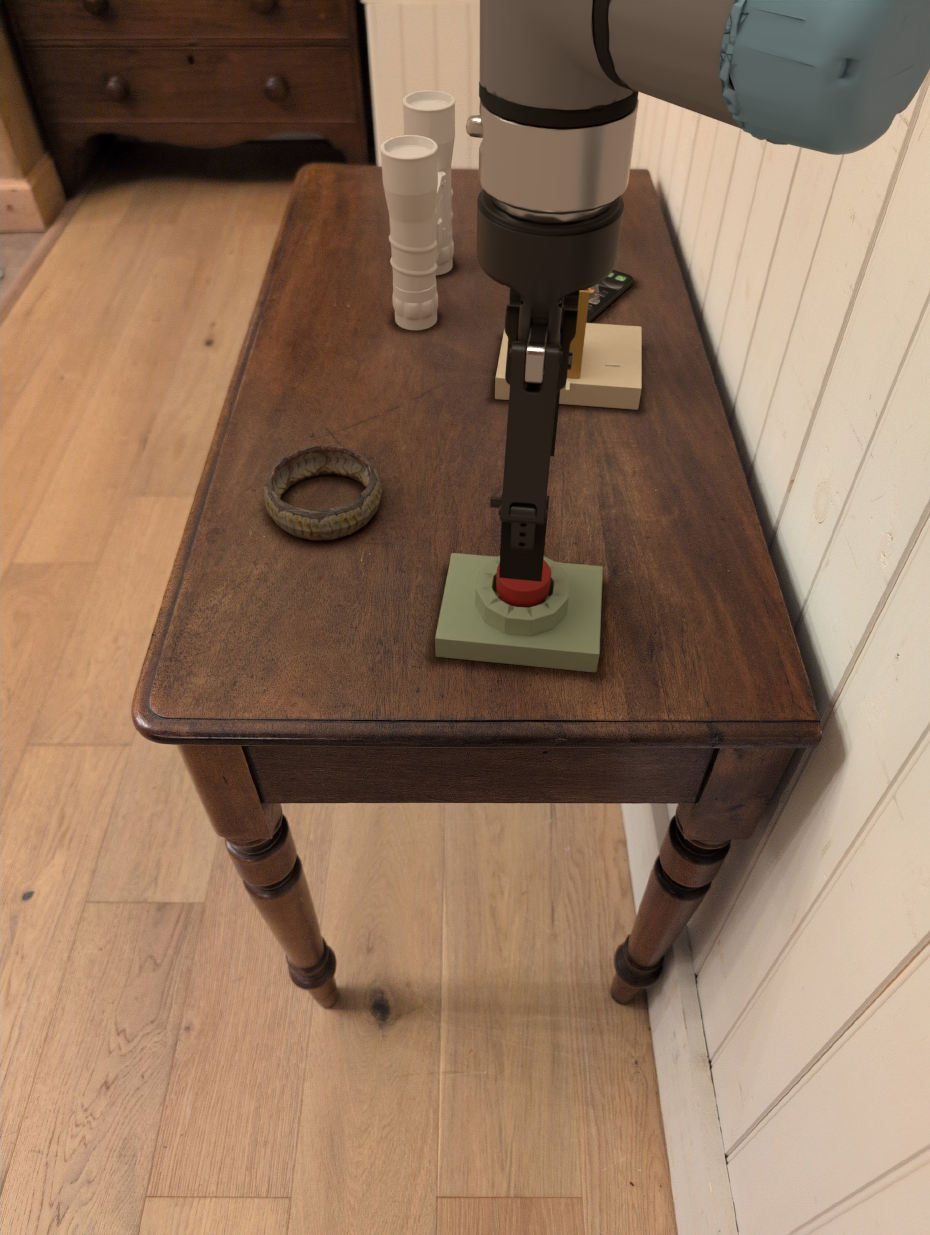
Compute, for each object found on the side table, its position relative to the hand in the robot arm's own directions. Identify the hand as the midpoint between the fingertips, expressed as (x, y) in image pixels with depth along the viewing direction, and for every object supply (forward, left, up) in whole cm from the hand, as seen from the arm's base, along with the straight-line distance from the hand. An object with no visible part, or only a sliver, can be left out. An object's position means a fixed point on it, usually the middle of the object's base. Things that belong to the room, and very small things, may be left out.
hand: (528, 509), depth 63 cm
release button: (0, 0, -8) cm, 8 cm away
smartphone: (-2, -48, -11) cm, 49 cm away
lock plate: (-2, -34, -11) cm, 36 cm away
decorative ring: (+18, -11, -12) cm, 24 cm away
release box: (0, 0, -11) cm, 11 cm away
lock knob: (-2, -32, -9) cm, 33 cm away
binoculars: (+15, -48, -12) cm, 52 cm away
